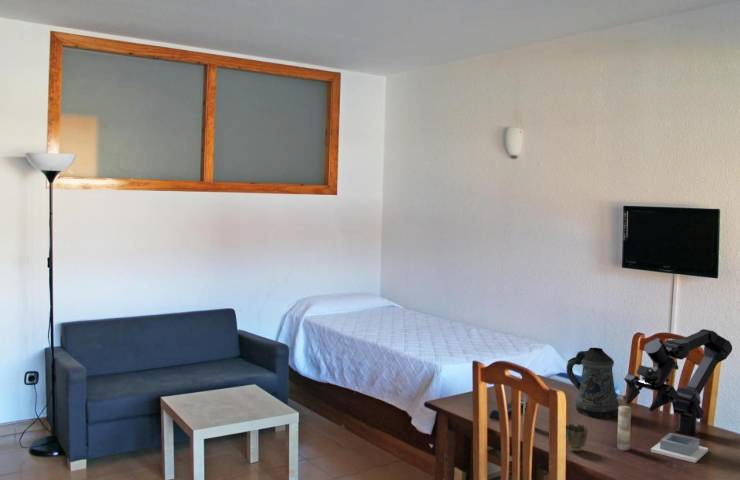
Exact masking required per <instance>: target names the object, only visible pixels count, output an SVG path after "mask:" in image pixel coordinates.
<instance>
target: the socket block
mask: <svg viewBox="0 0 740 480" xmlns="http://www.w3.org/2000/svg"><path fill="white" fill-rule="evenodd" d="M650 452H651V453H655V454H657V455H658V454H659V455H662V456H667V457H669V458H670V457H671V458H674V459H677V460H683V461H687V462H690V463H694V464H695V463H697V462H698V461H699V460H700V459H701V458H702V457H703V456H704V455H706V453H707V452H709V448H708V447H705V446H702V445H700V439H699V438H694V437H691V436H686V435H682V434H678V433H673V432H669V433H668V434H666V435H665V436H663V437H662V438H661V439H660V441H659V442H657V444H655V445H654V446H652V447H651V448H650Z"/></svg>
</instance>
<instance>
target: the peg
mask: <svg viewBox="0 0 740 480" xmlns="http://www.w3.org/2000/svg"><path fill="white" fill-rule="evenodd" d="M631 420H632V408H631V407H630V406H629V405H619V407H618V415H617V437H616V438H617V441H616V442H617V443H616V444H617V445H616V448H617V449H618V450H621V451H630V449H631V425H632V423H631Z"/></svg>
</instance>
